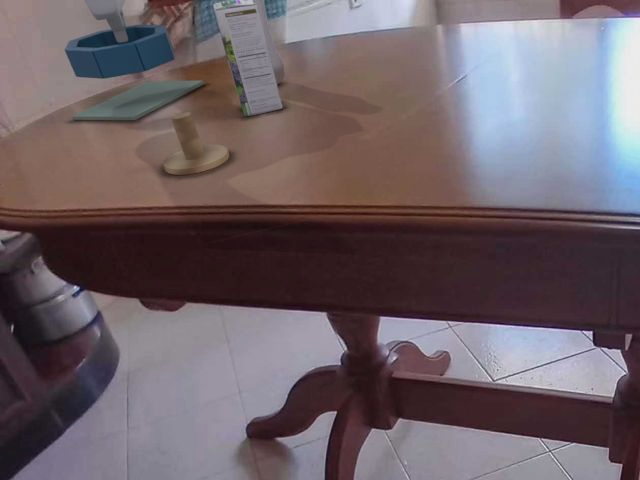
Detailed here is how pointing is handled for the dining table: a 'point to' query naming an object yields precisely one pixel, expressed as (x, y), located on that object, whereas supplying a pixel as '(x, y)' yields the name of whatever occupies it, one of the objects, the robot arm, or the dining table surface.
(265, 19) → the plastic bottle
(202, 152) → the dowel stand
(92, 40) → the blue ring
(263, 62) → the syrup box
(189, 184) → the dining table surface
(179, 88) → the rubber mat
